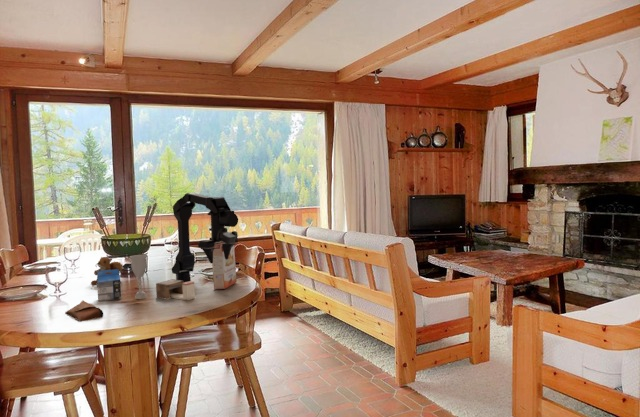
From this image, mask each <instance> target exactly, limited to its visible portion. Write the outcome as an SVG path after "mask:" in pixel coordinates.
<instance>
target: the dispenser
mask: <svg viewBox="0 0 640 417" xmlns="http://www.w3.org/2000/svg"><path fill="white" fill-rule="evenodd" d="M182 283H184V281H182V280H176V278H175V279H174V278H173V279H168V280H165V281H161V282H156V283H155V292H156V298H157V299H158V298H159V299H163V300H164V299H165V300H170V298H171V297H170V295H169V293H171V292H172V293H178V294H183V285H182Z"/></svg>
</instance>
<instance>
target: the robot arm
mask: <svg viewBox="0 0 640 417" xmlns="http://www.w3.org/2000/svg"><path fill="white" fill-rule="evenodd" d="M196 204H197V205H200V206H204V207H205V208H206V209H207V210H209V212H208V213H207V216H210V228H208V230H209V232H210V234H211V237H209V239H203V240H199V241H198V244H197V245H198V247H197V248H200V250H202V251H203V253H204V254H205V256H206V257H207V260H208V261H209V263H210V264H212V263H213V251H214V249H215V248H213V247H214V245H215V244H220V243H222V246H223V251H224V256H225V259H226V260H228V257H229V254H230V250H231V248H232V247H233V246H234V247H235V245H237V244H236V243H238V242H239V241H238V238H239V237H238V236H239V235H238V231H236V230H234V231H233V230H232V231H230V232H229V231H228V227H231V228H234V227H237V225H238V223H239V217H238V215H237V214H236V213H235V210H232V209H231V207H230V206H229V204H228V202H227V200H226V198H225V197H224V196H208V195H204V194H198V193H196V192H186V193H185V194H184V195H183V196H182V197H181V198H179V199H178V200H176V201H175V203H174V204H173V206H172V212H173V216H174V218H175V219H176V221H177V237H178V252H177V254H176V256H175V261H174V262H175V263H174V264H173V265H172V268H171V273H172V275H173V274H175V280H182V281H184V283H185V282H189V281H192V280H191V272H193V271H194V268H195V264H196V261H195V254H193V253H192V252H191V246H190V223H189V222H190V219H191V217H192V216H193V209H194V208H195V207H196Z"/></svg>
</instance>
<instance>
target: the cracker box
mask: <svg viewBox="0 0 640 417" xmlns="http://www.w3.org/2000/svg"><path fill="white" fill-rule="evenodd" d="M213 248H215V249H214V251H213V263H211V265H212V266H211V267H212V278H213V279H212V280H213V289H214V290H225V289H227V288H229V287H231V286H232V285H234V284H236V283H237V270H236V269H237V268H236V256H235V255H236V254H235V245H234V246H233V247H232V248H231V250H230V254H229V257H228V260H226V259H225V256H224V251H223V246H222V243H220V244H215V245H214V247H213Z"/></svg>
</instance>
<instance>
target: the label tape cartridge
mask: <svg viewBox="0 0 640 417" xmlns="http://www.w3.org/2000/svg"><path fill="white" fill-rule="evenodd" d="M107 272H109V273H112V274H105V273H107ZM96 280H97V284H96V286H97V300H98V302H104V301H113V300H119V299H122V285H121V276H120V273H119V269H114V270H104V271H97V275H96Z"/></svg>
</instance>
